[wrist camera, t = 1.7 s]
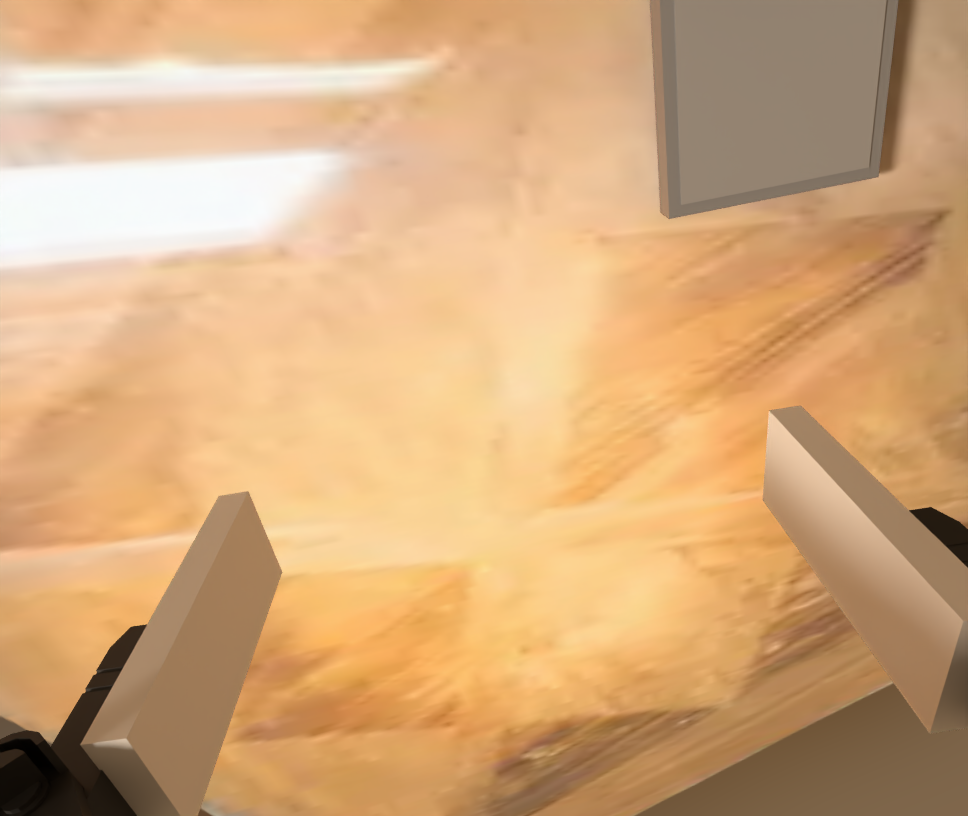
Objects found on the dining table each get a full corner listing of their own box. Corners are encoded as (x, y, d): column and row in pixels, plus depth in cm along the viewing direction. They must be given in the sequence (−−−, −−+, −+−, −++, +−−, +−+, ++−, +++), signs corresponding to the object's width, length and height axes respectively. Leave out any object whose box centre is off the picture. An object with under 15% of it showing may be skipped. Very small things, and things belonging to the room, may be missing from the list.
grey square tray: (648, -23, 37) (659, -28, 35) (886, -75, 37) (909, -83, 35) (660, 212, 44) (669, 219, 42) (861, 172, 43) (879, 177, 41)
